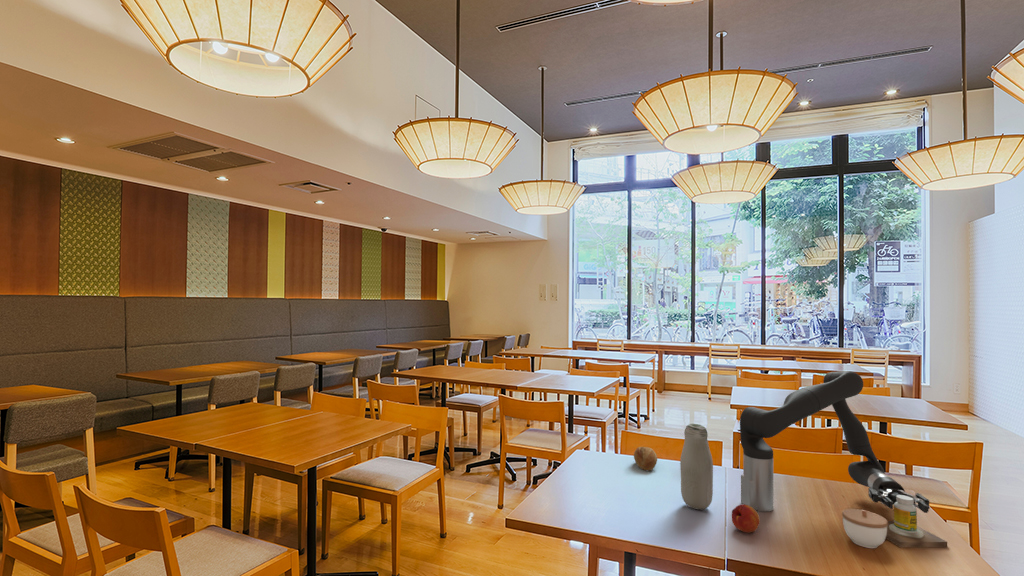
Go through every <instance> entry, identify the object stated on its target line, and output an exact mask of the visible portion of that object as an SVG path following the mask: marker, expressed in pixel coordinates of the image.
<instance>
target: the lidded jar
mask: <svg viewBox="0 0 1024 576" xmlns="http://www.w3.org/2000/svg"><path fill="white" fill-rule="evenodd" d="M841 515H842V523H843V526H842V527H843V530H844V531H845V533H846V535H847V536H848V537H849V539H850V540H851V542H852V543H854V544H855V545H857V546H860V547H863V548H867V549H877V548H878V547H879V546H881V545H882V544H883V543H885V540H887V539H886V535H887V525H888V522H887V521H888V519H886V518H885V517H884V516H882V515H881V514H877V513H875V512H872V511H868V510H865V509H857V508H846V509H843V510H842V512H841Z"/></svg>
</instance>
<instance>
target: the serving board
mask: <svg viewBox="0 0 1024 576" xmlns="http://www.w3.org/2000/svg"><path fill="white" fill-rule="evenodd" d="M887 522H888V525H887V535H886V539H885V540H887V541H889V542H891V543H892V544H894V545H896V546H897V547H899V548H948V541H946V540H945V539H944V538H941V537H939V536H937V535H935V533H934V534H933V533H931V532H929V531H928V530H926V529H925V528H922V527H920V526H919V525H917V532H916V533H906V532H902V531H899V530H897V529H896V528H895V527H894V520H892V521H891V520H890V521H888V520H887Z"/></svg>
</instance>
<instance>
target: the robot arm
mask: <svg viewBox="0 0 1024 576" xmlns="http://www.w3.org/2000/svg"><path fill="white" fill-rule="evenodd" d="M822 381H823V383H819V384H813V385H809V386H804V387H802V388H800V389H797V390H795V391H792V392H791V393H789V394H788V395H787V396H786V397H785V399H784V402H783V405H782V406H780V407H777V408H775V409H771V410H767V409H762V408H759V407H754V406H748V407H745V408H744V409H743V411H742V412H741V414H740V417H739V433H740V444H741V448H742V449H743V457H742V458H743V460H742V461H743V463H742V465H743V466H742V467H743V469H742V470H743V471H742V473H743V474H741V475H740V503H741V504H745V505H748V506H750V507H752V508H753V509H754V510H755V511H759V512H771V511H773V510H774V450H773V448H772V447H771V446H770V445H769V444H768V443H766V441H765V440H764V439H770V438H773V437H775V436H777V435H778V434H780V433H781V432H783V431H784V430H786V429H787V428H789V427H790V426H792V425H794V424H796V423H797V422H800V421H802V420H803V419H806V418H808V417H811V416H812V415H814V414H817V413H818V412H820V411H822V410H824V409H826V408H829V407H830V406H832V408H833V411H834V413H835V414H836V416H837V418H838V421H839V423H840V425H841V428H842V431H843V435H844V438H845V443H846V446H847V449H848V451H849V453H850V454H851V455H854V456H862V457H865V458H866V460H861V461H853V462H851V463H849V465H848V466H847V470H848V471H847V472H848V474H849V477H850V478H851V479H852V480H853V481H854V482H855V483H857V484H859V485H862V486H864V487H867V488H868V498H870V499H871V500H872V502H874V503H875V504H877V503H880V504H882V505H884V506H885V507H887V508H888V509H891V510H892V509H893V510H894V503H895V502H898V501H897V500H896V496H897V495H904V496H908V497H911V498H913V500H914V503H913V504H912V505H914V506H915V507H916V509H917V508H918V509H919V510H920V511H922V512H923V513H926V514H928V512H929V511H930V510H929V509H931V508H930V499H928V498H927V497H925V496H923V495H922V494H920V493H918V492H916V493H915V495H914V494H911V493H909V492H906V490H905V488H903V487H904V486H902V485H901V484H900V483H899V482H898V481H896V480H895V479H893V477H891V476H889V475H887V474H886V472H885V470H884V467H883V466H882V465H881V463H880V462H879V460H878V458H877V457H876V455H875V453H874V450H873V449H872V445H871V442H870V439H869V435H868V433H867V430H866V428H865V426H864V425H863V423H862V422H861V421H860V420H859V418H858V417H857V416H856V415H855V413H854V412H853V411H852V410H851V408H850V406H849V405H848V403H847V400H846V399H849V398H852V397H856V396H857V395H859V394H860V393H861V392H862V391H863V388H864V380H863V378H862V377H861V375H860V374H858V373H856V372H855V371H851V370H841V371H831V372H827V373H826V374H825V375H824V377H823V380H822Z"/></svg>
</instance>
